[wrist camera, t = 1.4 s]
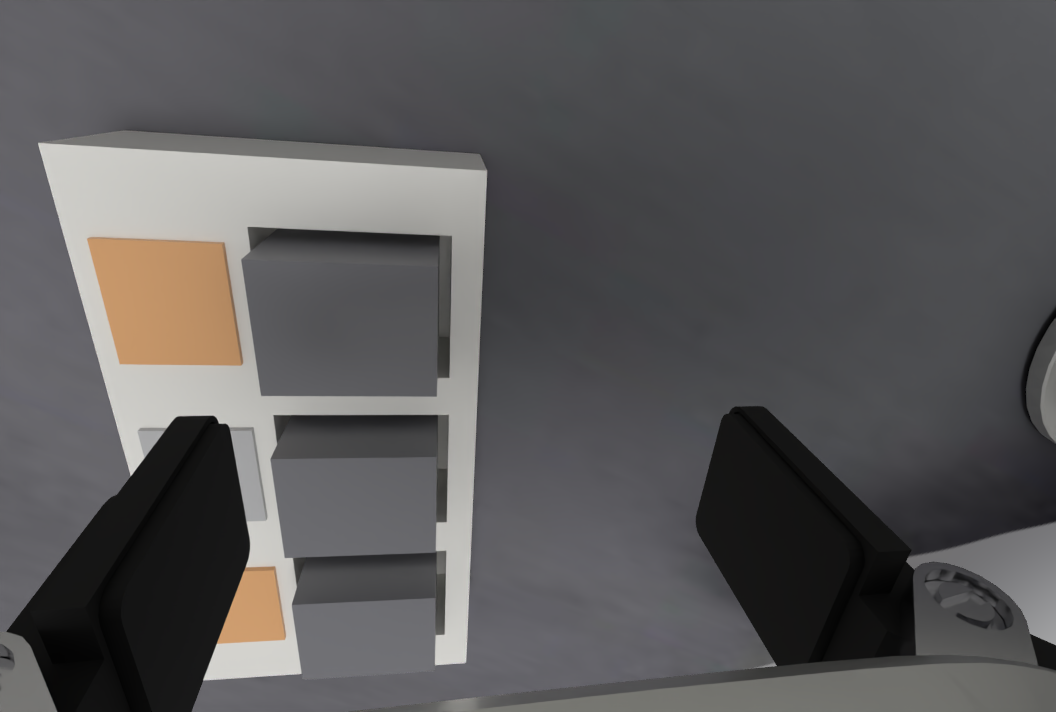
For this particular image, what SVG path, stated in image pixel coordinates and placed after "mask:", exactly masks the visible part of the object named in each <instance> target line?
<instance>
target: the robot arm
mask: <svg viewBox="0 0 1056 712" xmlns="http://www.w3.org/2000/svg"><path fill="white" fill-rule="evenodd" d="M1026 402H1027V409H1028V412H1029V415H1030V418H1031V421H1032V423H1033V424H1034V425H1035V427H1036V428H1037V430H1038V431H1039V432H1040V433H1041V434H1042V435H1043V436H1045V437H1046V438H1048V439H1049V440H1051V441H1052V442H1054V443H1055V444H1056V317H1055V319H1054V320H1053V321H1052V323H1051V324H1050V326H1049V327H1048V329H1047V331H1046V333H1045V335H1044V336H1043V338H1042V340H1041V342H1040V343H1039V345H1038V347H1037V350H1036V352H1035V355H1034V358H1033V360H1032V363H1031V366H1030V368H1029V374H1028V379H1027V385H1026ZM696 527H697V531H698V533H699V536H700V537H701V539H702V541H703V542H704V544H705V546H706V547H707V549H708V551H709V552H710V554H711V556H712V558H713V559H714V561H715V563H716V564H717V566H718V568H719V569H720V571H721V573H722V574H723V576H724V578H725V579H726V581H727V583H728V584H729V586H730V588H731V589H732V591H733V593H734V595H735V596H736V598H737V600H738V601H739V603H740V605H741V606H742V608H743V610H744V611H745V613H746V615H747V616H748V618H749V620H750V621H751V623H752V625H753V626H754V628H755V630H756V632H757V633H758V635H759V637H760V638H761V640H762V642H763V643H764V645H765V647H766V648H767V650H768V652H769V653H770V655H771V657H772V658H773V660H774V662H775V664H776V665H777V666H775V667H765V668H755V669H745V670H735V671H724V672H714V673H704V674H694V675H684V676H674V677H665V678H655V679H646V680H636V681H626V682H617V683H607V684H598V685H588V686H579V687H569V688H560V689H551V690H541V691H532V692H523V693H513V694H504V695H495V696H485V697H476V698H467V699H458V700H449V701H440V702H431V703H422V704H413V705H404V706H395V707H386V708H378V709H369V710H360V711H351V712H1056V645H1054V644H1051V643H1049V642H1047V641H1045V640H1042V639H1040V638H1038V637H1036V636H1033V635H1031V634H1030V633H1029V629H1028V625H1027V621H1026V619H1025V617H1024V615H1023V613H1022V611H1021V609H1020V608H1019V607H1018V606H1017V605H1016V603H1015V602H1014V601H1013V600H1012V599H1011V598H1010V597H1009V596H1008V595H1007V594H1005V593H1004V592H1003V591H1002V590H1001V589H1000V588H998V587H997V586H996V585H994V584H993V583H991V582H989V581H988V580H986V579H984V578H983V577H981V576H979V575H977V574H975V573H973V572H971V571H968V570H966V569H964V568H960V567H958V566H954V565H951V564H947V563H939V562H929V563H923V564H921V565H920V566H918V567H917V568H915V570H914V569H913V568H912V567H911V566H910V565H909V564H908V563H907V562H906V560H907V558H908V556H909V554H910V552H911V549H910V548H909V547H908V546H907V545H906V544H905V543H904V542H903V541H902V540H901V539H900V538H899V537H898V536H897V535H896V534H895V533H894V532H893V531H892V530H890V529H889V528H888V527H887V526H886V525H885V524H884V523H883V522H882V521H881V520H880V519H879V518H878V517H877V516H876V515H875V514H874V513H873V512H872V511H871V510H870V509H869V508H868V507H867V506H866V505H865V504H864V503H863V502H862V501H861V500H860V499H859V498H858V497H857V496H856V495H855V494H854V493H852V492H851V491H850V490H849V489H848V488H847V487H846V486H845V485H844V484H843V483H842V482H841V481H840V480H839V479H838V478H837V477H836V476H835V475H834V474H833V473H832V472H831V471H830V470H829V469H828V468H827V467H826V466H825V465H824V464H823V463H822V462H821V461H820V460H819V459H818V458H817V457H816V456H814V455H813V454H812V453H811V452H810V451H809V450H808V449H807V448H806V447H805V446H804V445H803V444H802V443H801V442H800V441H799V440H798V439H797V438H796V437H795V436H794V435H793V434H792V433H791V432H790V431H789V430H788V429H787V428H786V427H785V426H784V425H783V424H782V423H781V422H780V421H779V420H778V419H776V418H775V417H774V416H773V415H772V414H771V413H770V412H769V411H768V410H767V409H766V408H764V407H761V406H746V407H734V408H732V409H731V411H730V412H729V414H726V415H724V416H723V418H722V420H721V424H720V427H719V431H718V435H717V439H716V443H715V446H714V450H713V454H712V458H711V462H710V465H709V469H708V473H707V477H706V481H705V484H704V488H703V492H702V496H701V500H700V503H699V507H698V511H697V515H696ZM249 553H250V538H249V532H248V527H247V521H246V515H245V510H244V504H243V499H242V493H241V488H240V482H239V476H238V471H237V465H236V460H235V454H234V449H233V443H232V438H231V432H230V428H229V426H228V425H227V424H219V422H218V420H217V418H216V417H215V416H178V417H176V418H175V419H174V420H173V421H172V422H171V423H170V425H169V426H168V427H167V429H166V430H165V431H164V433H163V434H162V435H161V437H160V438H159V439H158V441H157V442H156V443H155V445H154V446H153V447H152V449H151V450H150V451H149V453H148V454H147V455H146V457H145V458H144V459H143V461H142V462H141V463H140V465H139V466H138V467H137V469H136V470H135V471H134V473H133V474H132V475H131V477H130V478H129V479H128V481H127V482H126V483H125V485H124V486H123V487H122V489H121V490H120V491H119V493H118V494H117V495H115V496H113V497H111V498H110V499H109V500H108V501H107V502H106V503H105V504H104V505H103V506H102V507H101V509H100V510H99V511H98V512H97V514H96V515H95V516H94V518H93V519H92V520H91V522H90V523H89V524H88V526H87V527H86V528H85V529H84V531H83V532H82V533H81V535H80V536H79V537H78V539H77V540H76V541H75V543H74V544H73V545H72V546H71V548H70V549H69V550H68V552H67V553H66V554H65V556H64V557H63V558H62V560H61V561H60V562H59V563H58V565H57V566H56V567H55V569H54V570H53V571H52V573H51V574H50V575H49V577H48V578H47V579H46V581H45V582H44V583H43V584H42V586H41V587H40V588H39V590H38V591H37V592H36V594H35V595H34V596H33V598H32V599H31V600H30V601H29V603H28V604H27V605H26V607H25V608H24V609H23V611H22V612H21V613H20V615H19V616H18V617H17V618H16V620H15V621H14V622H13V624H12V625H11V626H10V628H9V629H8V630H7V632H0V712H191V711H192V709H193V706H194V703H195V701H196V698H197V695H198V693H199V690H200V687H201V685H202V682H203V679H204V677H205V674H206V671H207V669H208V666H209V663H210V661H211V658H212V655H213V653H214V650H215V647H216V645H217V642H218V639H219V637H220V634H221V631H222V629H223V626H224V623H225V621H226V618H227V615H228V613H229V610H230V607H231V605H232V602H233V599H234V597H235V594H236V591H237V589H238V586H239V583H240V581H241V578H242V575H243V573H244V570H245V567H246V565H247V562H248V559H249Z"/></svg>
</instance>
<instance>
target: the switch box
mask: <svg viewBox="0 0 1056 712" xmlns="http://www.w3.org/2000/svg"><path fill="white" fill-rule="evenodd" d="M38 145H39V149H40V152H41V156H42V159H43V163H44V166H45V170H46V174H47V177H48V181H49V184H50V188H51V191H52V195H53V199H54V202H55V206H56V209H57V213H58V217H59V220H60V224H61V227H62V231H63V234H64V238H65V242H66V245H67V249H68V252H69V256H70V260H71V263H72V267H73V270H74V274H75V277H76V281H77V285H78V288H79V292H80V295H81V299H82V303H83V306H84V310H85V313H86V317H87V320H88V324H89V328H90V331H91V335H92V338H93V342H94V345H95V349H96V353H97V356H98V360H99V363H100V367H101V371H102V374H103V378H104V381H105V385H106V388H107V392H108V396H109V399H110V403H111V406H112V410H113V414H114V417H115V421H116V424H117V428H118V431H119V435H120V439H121V442H122V446H123V449H124V453H125V456H126V460H127V464H128V467H129V471H130V474H131V475H132V474H133V473H134V471H135V470H136V469H137V467H138V466H139V465H140V463H141V462H142V461H143V459H144V458H145V457H146V455H147V454H148V453H149V451H150V450H151V449H152V447H153V446H154V445H155V443H156V442H157V441H158V439H159V438H160V437H161V435H162V434H163V433H164V431H165V430H166V429H167V427H168V426H169V425H170V423H171V422H172V421H173V420H174V419H175V418H176V417H178V416H215V417H216V418H217V420H218V422H219V424H227V425H228V426H229V428H230V432H231V438H232V443H233V449H234V454H235V460H236V465H237V471H238V476H239V482H240V488H241V493H242V499H243V504H244V510H245V515H246V521H247V527H248V532H249V538H250V553H249V559H248V562H247V565H246V567H245V570H244V573H243V575H242V578H241V581H240V583H239V586H238V589H237V591H236V594H235V597H234V599H233V602H232V605H231V607H230V610H229V613H228V615H227V618H226V621H225V623H224V626H223V629H222V631H221V634H220V637H219V639H218V642H217V645H216V647H215V650H214V653H213V655H212V658H211V661H210V663H209V666H208V669H207V671H206V674H205V677H204V679H203V680H215V679H230V678H246V677H261V676H276V675H291V674H302V673H301V666H300V659H299V652H298V645H297V639H296V632H295V625H294V618H293V611H292V602H293V599H294V595H295V592H296V589H297V585H298V582H299V579H300V575H301V572H302V569H303V565H304V562H305V559H306V557H302V558H285V556H284V550H283V543H282V536H281V529H280V522H279V515H278V508H277V502H276V495H275V488H274V481H273V474H272V467H271V461H270V459H271V457H272V455H273V452H274V450H275V448H276V446H277V444H278V442H279V440H280V438H281V436H282V433H283V431H284V429H285V427H286V425H287V423H288V421H289V419H290V417H291V415H438V487H437V524H436V551H437V600H436V642H435V665H443V664H459V663H466V651H467V627H468V604H469V581H470V558H471V534H472V511H473V488H474V465H475V442H476V418H477V395H478V372H479V349H480V325H481V302H482V279H483V256H484V232H485V209H486V186H487V169H486V167H485V165H484V163H483V160H482V158H481V156H480V154H474V153H459V152H444V151H429V150H414V149H399V148H384V147H369V146H354V145H339V144H324V143H309V142H294V141H279V140H264V139H249V138H233V137H218V136H203V135H188V134H173V133H158V132H143V131H128V130H123V131H116V132H109V133H103V134H96V135H89V136H82V137H75V138H68V139H61V140H55V141H48V142H41V143H38ZM277 228H282V229H304V230H326V231H349V232H371V233H393V234H416V235H438V236H440V260H439V354H438V380H437V397H412V396H261V392H260V385H259V378H258V371H257V365H256V358H255V351H254V344H253V337H252V330H251V324H250V317H249V310H248V303H247V296H246V289H245V282H244V276H243V269H242V262H241V259H242V258H243V257H245V256H246V255H247V254H248V253H249V252H250V251H252V250H253V249H254V248H255V247H256V246H257V245H259V244H260V243H261V242H262V241H263V240H265V239H266V238H267V237H268V236H269V235H270V234H272V233H273V232H274V231H275V230H276V229H277Z"/></svg>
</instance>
